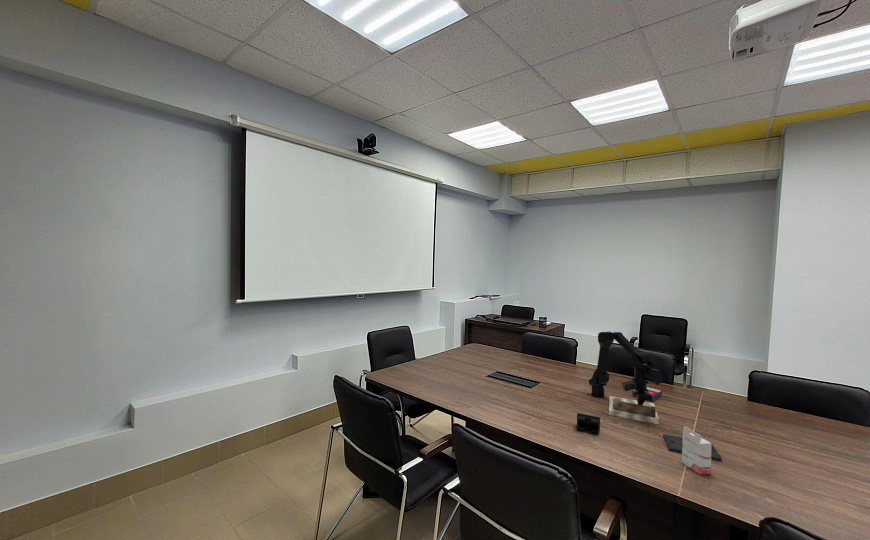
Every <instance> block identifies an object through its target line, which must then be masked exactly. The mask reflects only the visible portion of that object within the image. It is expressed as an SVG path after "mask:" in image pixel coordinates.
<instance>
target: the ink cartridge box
mask: <svg viewBox="0 0 870 540" xmlns="http://www.w3.org/2000/svg"><path fill="white" fill-rule="evenodd" d="M682 438H683V444H682V453H681V462H682V464H684V465H686V466H687V467H688V468H690V469H691V470H692V471H694V472H695V473H697V474H698V475H712V474H711V473H712V460H711V445H713V443H712V442H710V441H708V440H706V439H705V438H702V436H701V434H700V433H697V432H696V431H694V430H692V429H691V428H689V427H687V426H686V425H684V426H683V431H682Z"/></svg>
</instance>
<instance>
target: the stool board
mask: <svg viewBox="0 0 870 540" xmlns="http://www.w3.org/2000/svg"><path fill="white" fill-rule="evenodd" d="M614 398H616V399H619V400H621V401H622V402H628V403H633V404H638V403H637V399H629V398H623V397H617V396H613V395H609V398H608V400H609V401H608V415H609V416H614V417H617V418H623V419H628V420H633V421H639V422H643V423H644V422H645V423H649V424H655V425H660V423H659V422H660V419H659V416H658V412H657V411H656V416H655V417H652V416H649V415H643V414H638V413H633V412H628V411H622V410H617V409H614V408H613V399H614ZM643 405H644V406H650V407H651V406H652V407H655V408H656V406H655V403H654V402H649V401H645V402H644V403H643Z"/></svg>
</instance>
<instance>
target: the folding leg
mask: <svg viewBox="0 0 870 540" xmlns="http://www.w3.org/2000/svg"><path fill="white" fill-rule="evenodd" d="M613 408H614V409H617V410H622V411H628V412H633V413H638V414H643V415H649V416H652V417H655V416H656V412H657V410H656V406H655V407H652V406H651V407H650V406H644V405H639V404H633V403H628V402H622V401H621V400H619V399H616V398H614V399H613Z"/></svg>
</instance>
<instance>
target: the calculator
mask: <svg viewBox="0 0 870 540" xmlns="http://www.w3.org/2000/svg"><path fill="white" fill-rule="evenodd" d="M647 389H648V393H649V394H650V395H651V396H652V397H653V401H648V400H646V401H645V402H649V403H654V402H656V401H657V400H658V399H660V398H663V397H662V396H663V392H662V390H660V389H656V388H653V387H649V386H647ZM631 392H632V391H631ZM645 392H647V391H645ZM631 396H632V397H633V398H636V396H635V395H634V393H633V392H632V395H631Z"/></svg>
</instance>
